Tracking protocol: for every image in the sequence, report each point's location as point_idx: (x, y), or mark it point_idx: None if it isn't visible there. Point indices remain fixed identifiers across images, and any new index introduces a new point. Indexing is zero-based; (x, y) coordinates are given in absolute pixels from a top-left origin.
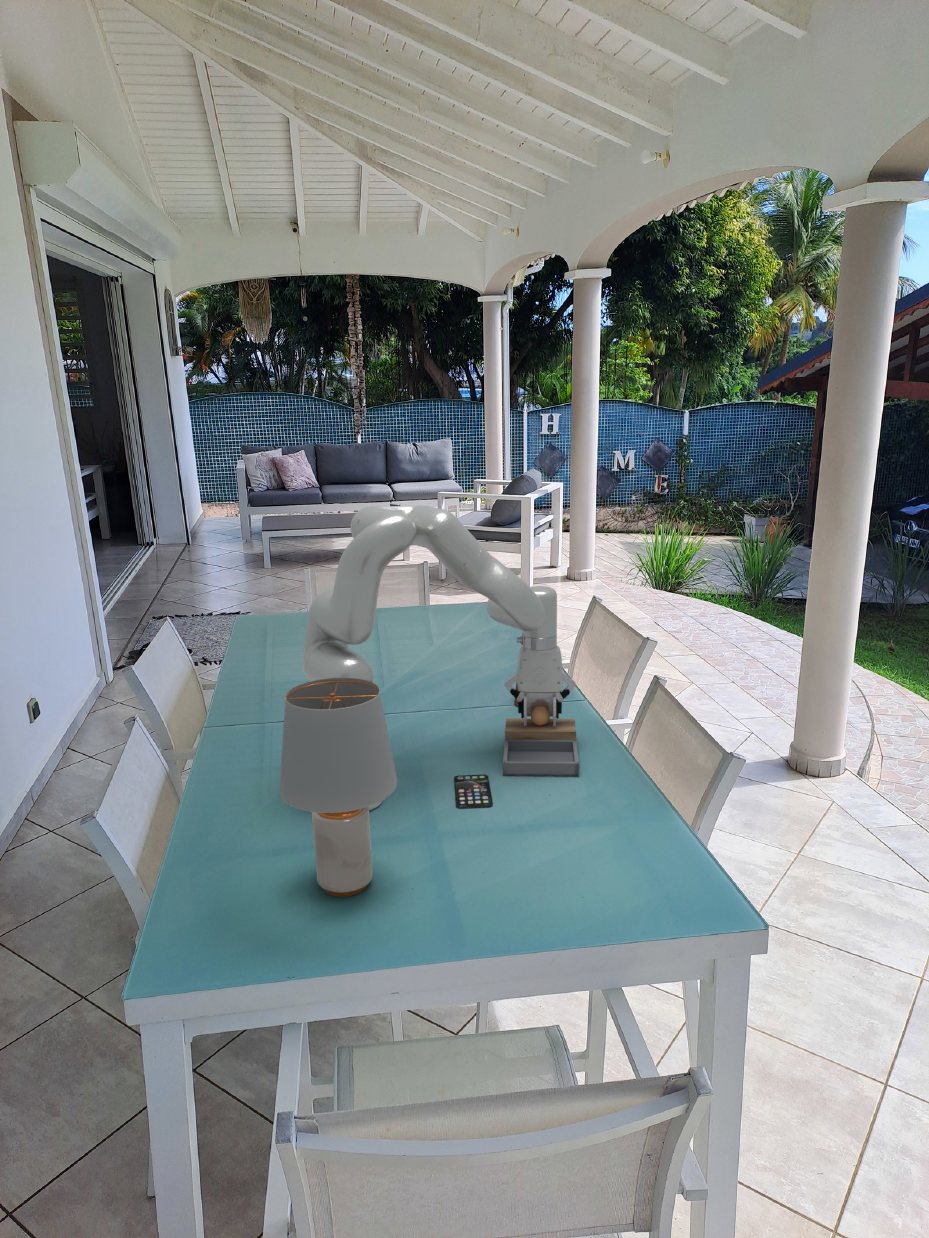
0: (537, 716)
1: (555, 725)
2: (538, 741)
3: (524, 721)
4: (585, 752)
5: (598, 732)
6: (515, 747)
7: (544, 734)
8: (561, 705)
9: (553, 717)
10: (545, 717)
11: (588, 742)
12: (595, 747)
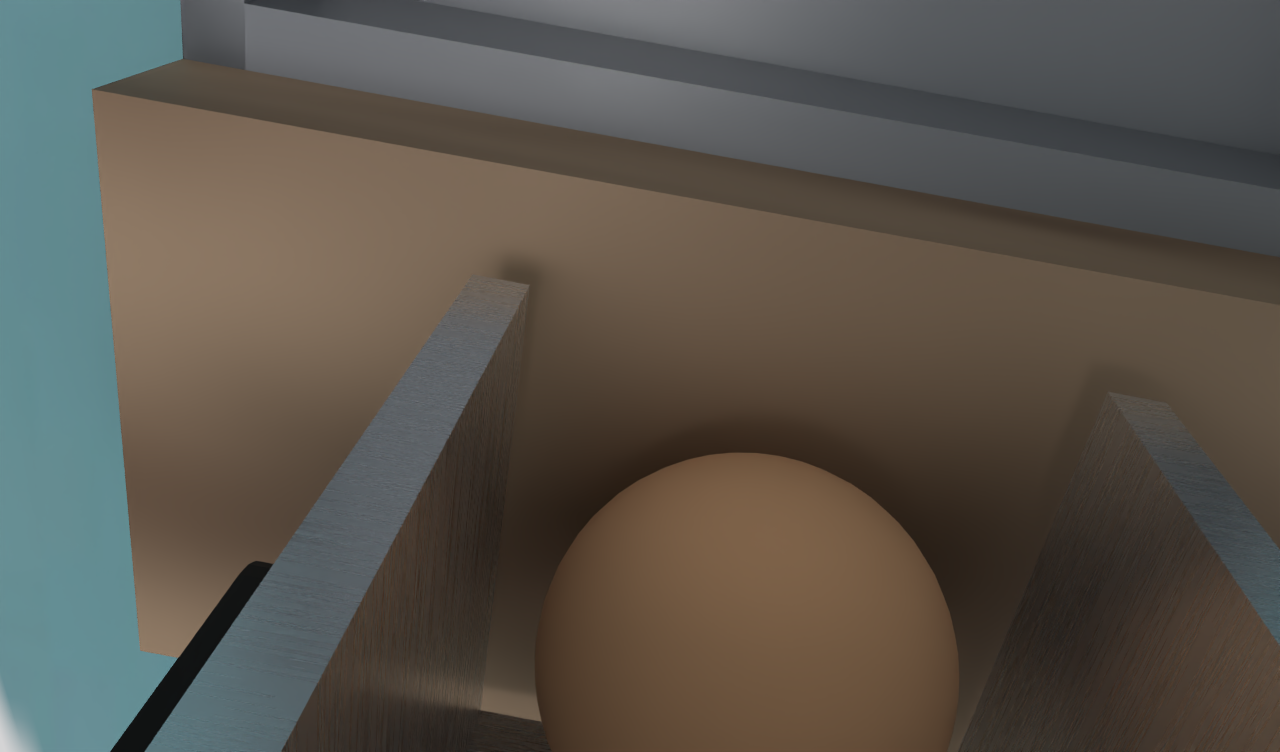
0: (854, 553)
1: (479, 279)
2: (864, 112)
3: (1194, 455)
4: (146, 13)
5: (5, 578)
6: (1236, 157)
7: (740, 187)
8: (154, 698)
9: (478, 374)
10: (661, 515)
11: (111, 337)
12: (14, 166)
